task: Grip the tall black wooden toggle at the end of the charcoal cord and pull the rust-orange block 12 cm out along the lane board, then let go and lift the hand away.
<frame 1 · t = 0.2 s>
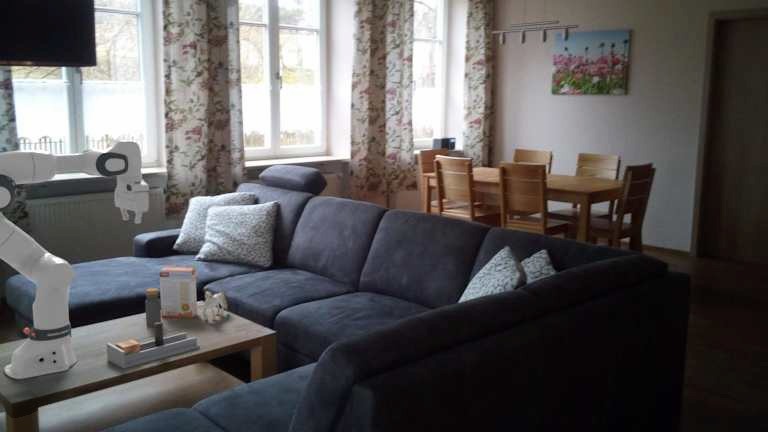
hand: (131, 221, 260), 47 cm above the table, tool pointing down, fingers open, 8 cm apart
unicorn figurine: (219, 319, 298), on the table
bottle: (153, 325, 290), on the table
lane board: (154, 353, 257), on the table
cracker box: (179, 316, 303), on the table
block: (141, 340, 253), point 6 cm above the table, slide at 0.0 cm
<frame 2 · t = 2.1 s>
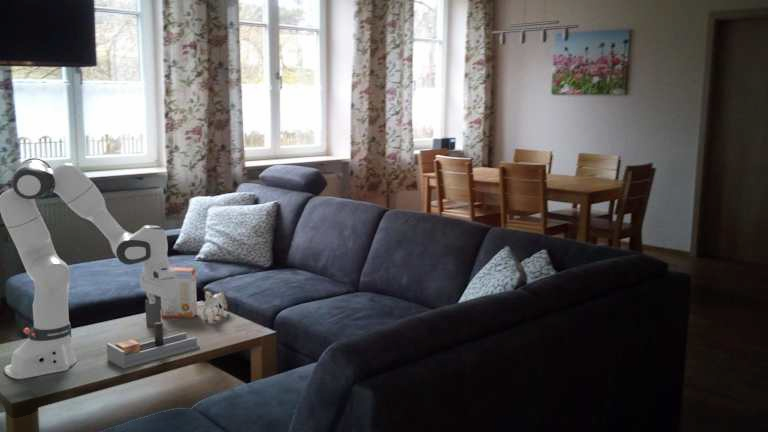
hand: (158, 306, 256), 18 cm above the table, tool pointing down, fingers open, 8 cm apart
nothing on the table moved.
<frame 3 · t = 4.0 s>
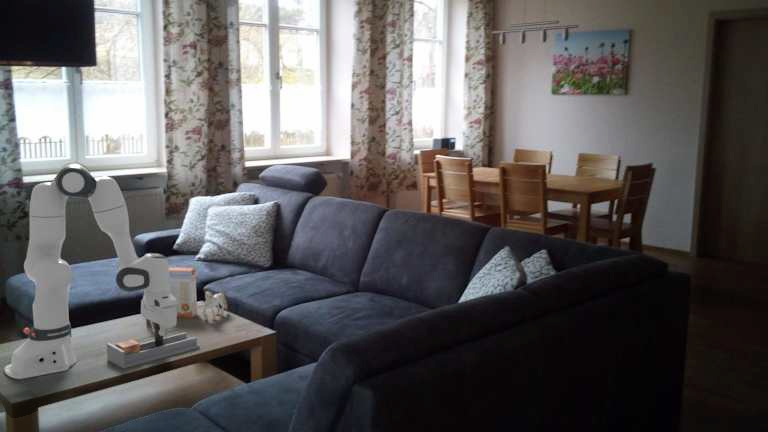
hand: (158, 333, 257), 7 cm above the table, tool pointing down, fingers closed on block, 3 cm apart
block: (141, 340, 253), point 6 cm above the table, slide at 0.0 cm, touching gripper
everything else where it was.
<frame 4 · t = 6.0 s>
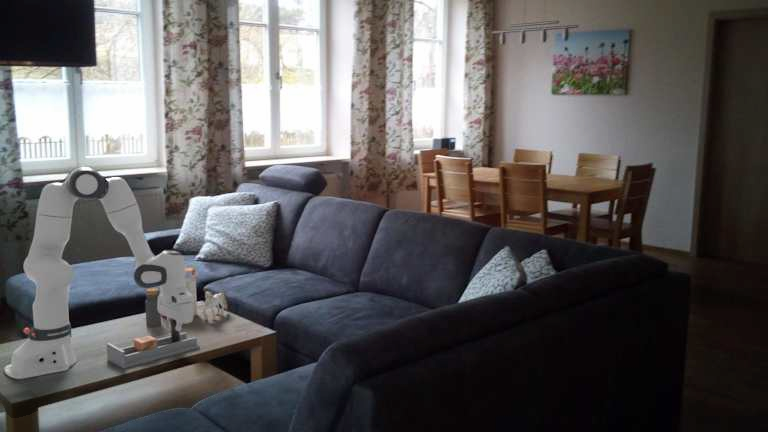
hand: (175, 329, 262), 7 cm above the table, tool pointing down, fingers closed on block, 3 cm apart
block: (158, 336, 258), point 6 cm above the table, slide at 6.6 cm, touching gripper
everything else where it was.
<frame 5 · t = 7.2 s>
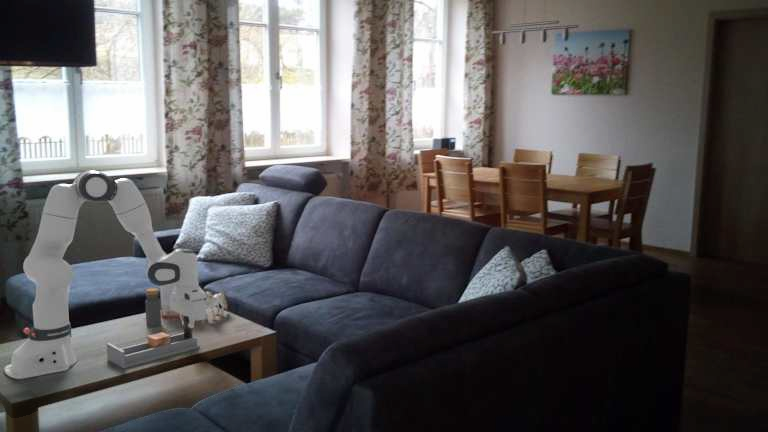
hand: (188, 326, 266), 7 cm above the table, tool pointing down, fingers closed on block, 3 cm apart
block: (171, 332, 261), point 6 cm above the table, slide at 11.9 cm, touching gripper
everything else where it was.
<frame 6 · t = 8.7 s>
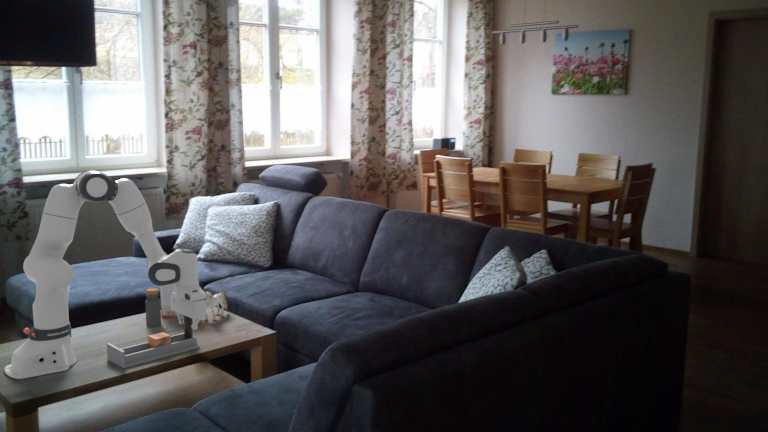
hand: (188, 326, 266), 7 cm above the table, tool pointing down, fingers open, 8 cm apart
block: (172, 332, 261), point 6 cm above the table, slide at 12.1 cm
everything else where it was.
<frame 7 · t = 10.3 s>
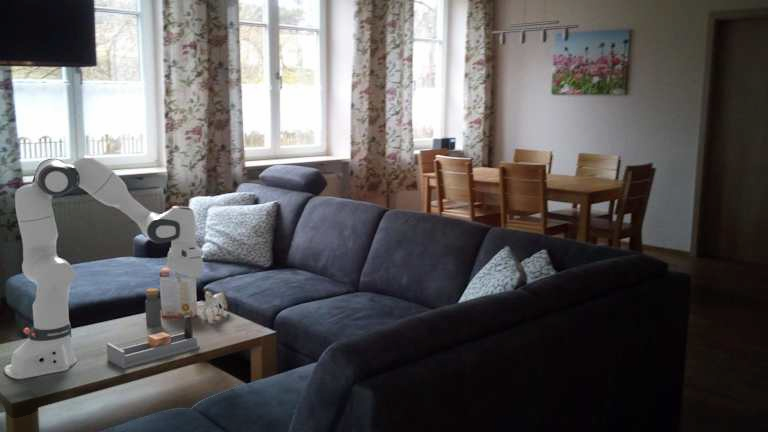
hand: (184, 284, 264), 23 cm above the table, tool pointing down, fingers open, 8 cm apart
nothing on the table moved.
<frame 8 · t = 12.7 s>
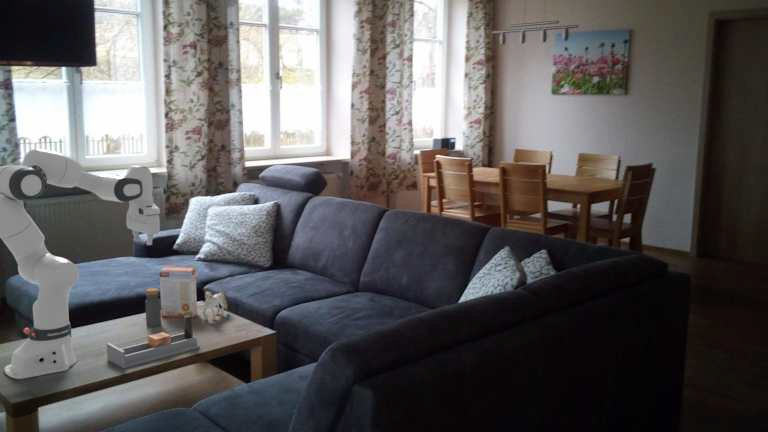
hand: (143, 243, 271), 37 cm above the table, tool pointing down, fingers open, 8 cm apart
nothing on the table moved.
at the end: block slide at 12.1 cm; the gripper is holding nothing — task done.
